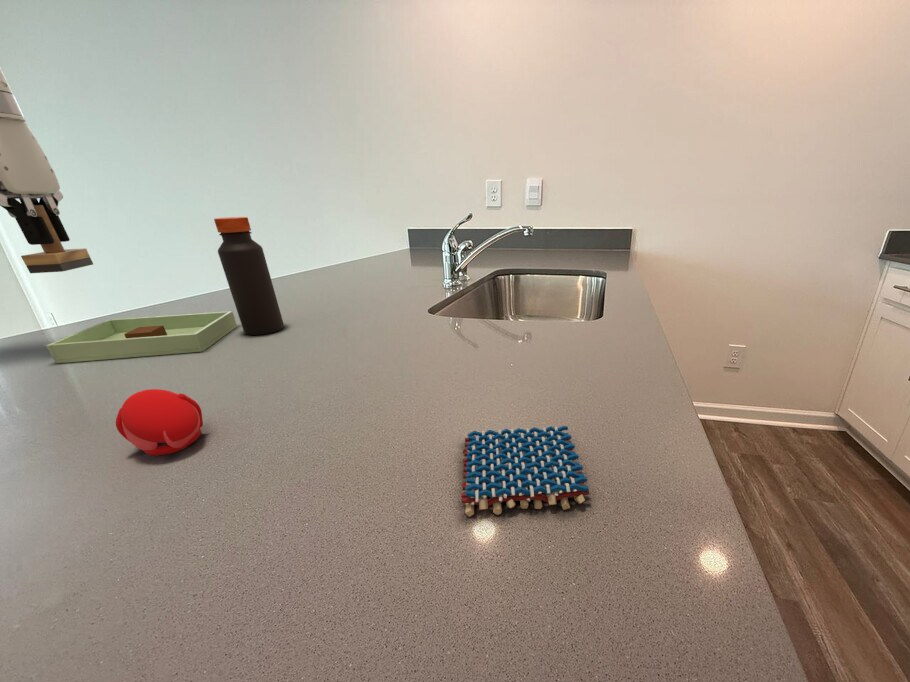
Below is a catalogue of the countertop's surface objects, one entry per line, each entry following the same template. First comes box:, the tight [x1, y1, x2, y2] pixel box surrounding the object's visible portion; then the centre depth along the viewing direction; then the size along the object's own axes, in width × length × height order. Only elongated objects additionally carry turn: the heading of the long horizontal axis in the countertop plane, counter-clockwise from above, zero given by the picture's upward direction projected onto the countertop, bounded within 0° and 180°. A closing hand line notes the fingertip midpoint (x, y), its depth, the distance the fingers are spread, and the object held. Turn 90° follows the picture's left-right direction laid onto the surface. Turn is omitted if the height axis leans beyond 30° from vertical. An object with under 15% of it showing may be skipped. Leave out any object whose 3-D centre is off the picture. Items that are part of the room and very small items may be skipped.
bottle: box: [213, 216, 285, 336], centre depth 74 cm, size 7×7×20 cm
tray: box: [45, 310, 238, 364], centre depth 72 cm, size 21×14×3 cm
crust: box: [124, 325, 167, 338], centre depth 72 cm, size 4×4×2 cm
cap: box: [115, 388, 204, 456], centre depth 42 cm, size 8×6×6 cm
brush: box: [20, 205, 94, 274], centre depth 66 cm, size 7×4×10 cm, turn 12°
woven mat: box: [460, 424, 590, 518], centre depth 37 cm, size 10×11×2 cm
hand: (49, 241), depth 66 cm, fingers closed on brush, 2 cm apart
